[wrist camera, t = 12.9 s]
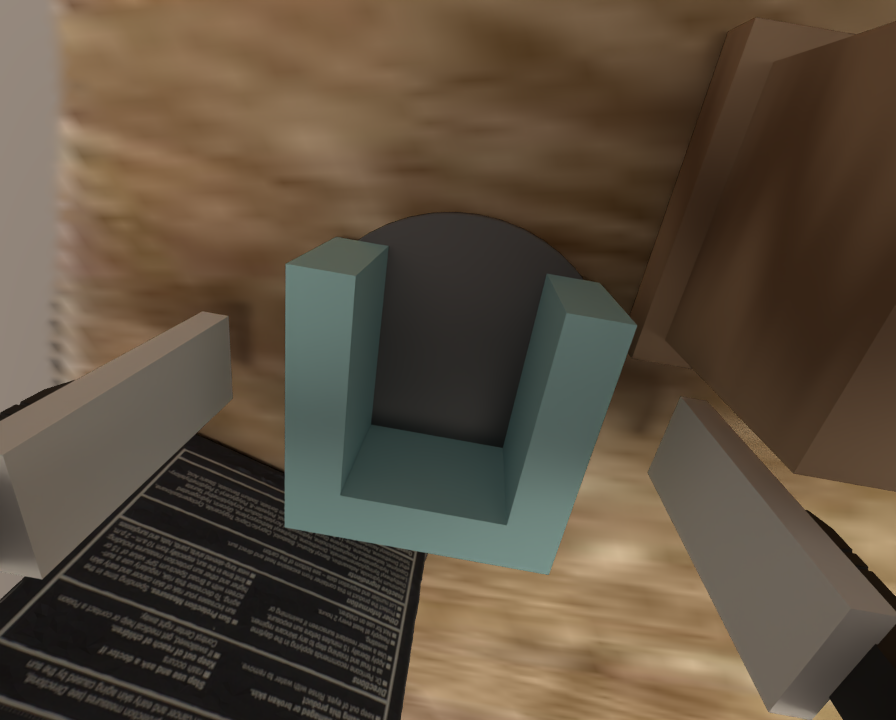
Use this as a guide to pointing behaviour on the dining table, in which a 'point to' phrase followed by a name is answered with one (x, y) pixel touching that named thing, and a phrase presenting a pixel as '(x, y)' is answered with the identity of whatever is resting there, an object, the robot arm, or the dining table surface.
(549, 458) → the c link
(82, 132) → the dining table surface
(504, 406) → the coaster
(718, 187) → the stand
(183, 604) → the small box
